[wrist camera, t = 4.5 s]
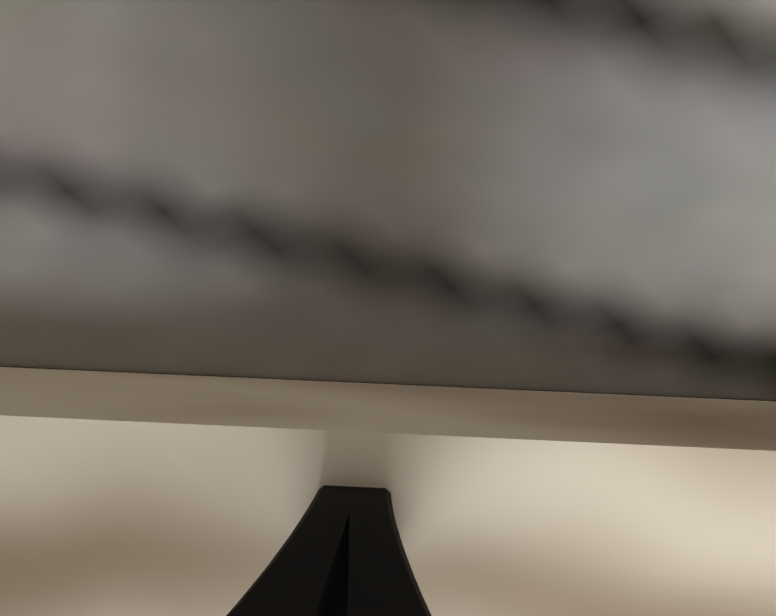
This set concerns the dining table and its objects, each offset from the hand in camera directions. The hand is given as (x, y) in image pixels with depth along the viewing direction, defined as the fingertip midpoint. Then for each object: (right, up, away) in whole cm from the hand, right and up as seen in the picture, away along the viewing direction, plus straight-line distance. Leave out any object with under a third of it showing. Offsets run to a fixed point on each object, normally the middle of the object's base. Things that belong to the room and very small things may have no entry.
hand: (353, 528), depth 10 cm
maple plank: (0, -1, +2) cm, 3 cm away
